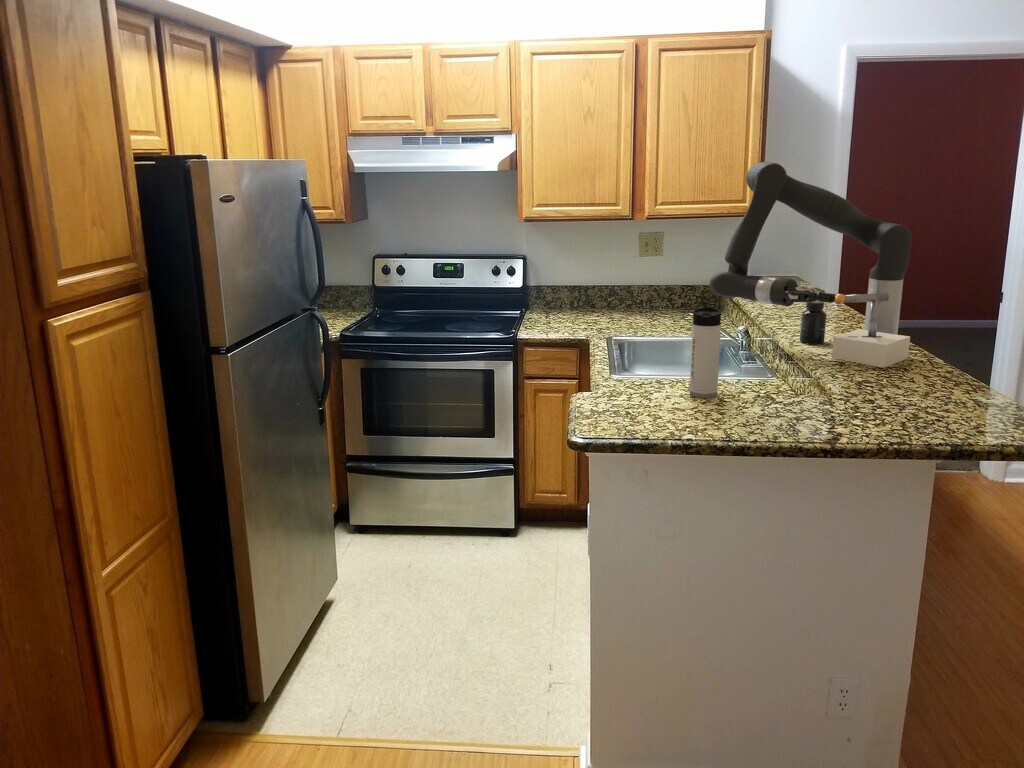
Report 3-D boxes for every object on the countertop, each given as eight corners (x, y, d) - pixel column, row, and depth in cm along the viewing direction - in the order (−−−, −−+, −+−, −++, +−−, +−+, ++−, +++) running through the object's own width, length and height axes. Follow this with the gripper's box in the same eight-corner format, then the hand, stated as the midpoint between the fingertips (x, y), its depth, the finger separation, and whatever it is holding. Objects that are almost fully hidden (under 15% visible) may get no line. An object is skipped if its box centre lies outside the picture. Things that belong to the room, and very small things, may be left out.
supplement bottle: (826, 345, 231) (829, 304, 227) (801, 344, 232) (804, 303, 229) (822, 340, 237) (825, 300, 234) (798, 339, 238) (801, 299, 235)
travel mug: (718, 391, 187) (722, 307, 182) (715, 399, 181) (720, 312, 176) (691, 389, 189) (694, 306, 184) (687, 397, 183) (691, 311, 178)
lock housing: (856, 350, 224) (858, 328, 222) (907, 358, 213) (910, 336, 212) (831, 358, 215) (833, 336, 213) (883, 367, 205) (886, 344, 203)
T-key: (879, 334, 214) (884, 291, 211) (885, 336, 211) (890, 292, 208) (828, 336, 213) (832, 293, 210) (833, 338, 210) (837, 294, 207)
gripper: (763, 279, 218) (822, 286, 205) (790, 275, 226) (848, 281, 213) (761, 307, 220) (819, 315, 207) (788, 301, 228) (846, 309, 215)
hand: (834, 298), depth 210 cm, fingers closed
